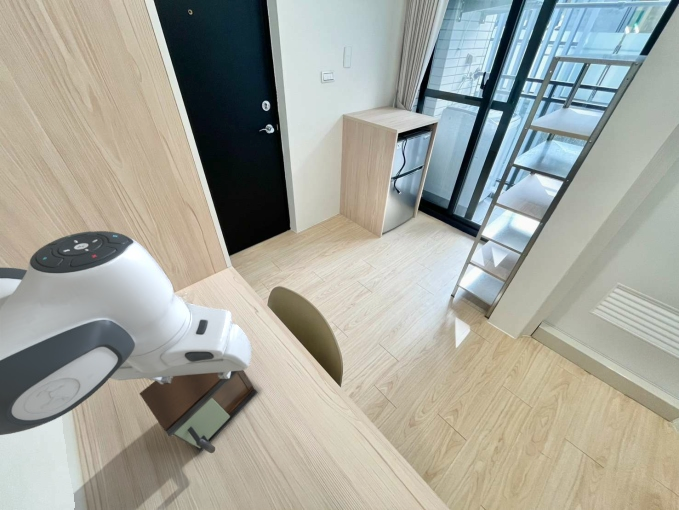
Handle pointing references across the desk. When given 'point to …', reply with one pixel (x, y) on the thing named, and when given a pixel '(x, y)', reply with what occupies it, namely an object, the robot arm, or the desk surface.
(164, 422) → the cupboard
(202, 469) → the desk surface
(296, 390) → the desk surface
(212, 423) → the door
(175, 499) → the desk surface
